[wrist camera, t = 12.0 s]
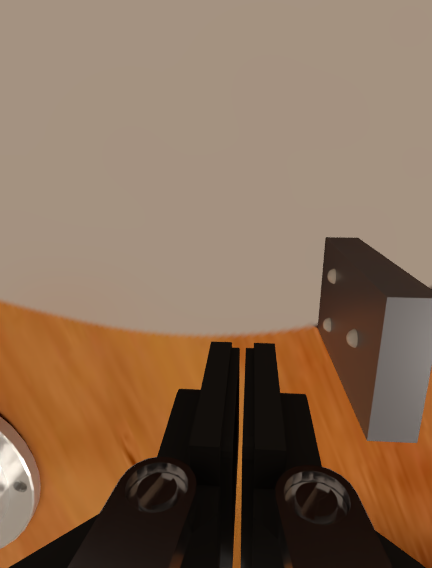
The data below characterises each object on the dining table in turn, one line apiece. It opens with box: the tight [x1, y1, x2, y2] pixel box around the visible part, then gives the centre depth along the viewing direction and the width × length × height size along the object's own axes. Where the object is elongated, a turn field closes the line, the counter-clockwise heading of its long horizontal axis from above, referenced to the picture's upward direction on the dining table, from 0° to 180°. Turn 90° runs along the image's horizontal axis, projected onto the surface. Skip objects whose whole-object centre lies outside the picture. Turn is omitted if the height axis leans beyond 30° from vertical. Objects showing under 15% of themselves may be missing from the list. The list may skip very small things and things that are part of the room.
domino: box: [318, 237, 432, 443], centre depth 17 cm, size 2×5×9 cm, turn 0°
